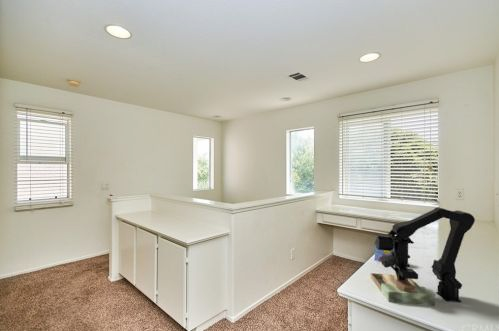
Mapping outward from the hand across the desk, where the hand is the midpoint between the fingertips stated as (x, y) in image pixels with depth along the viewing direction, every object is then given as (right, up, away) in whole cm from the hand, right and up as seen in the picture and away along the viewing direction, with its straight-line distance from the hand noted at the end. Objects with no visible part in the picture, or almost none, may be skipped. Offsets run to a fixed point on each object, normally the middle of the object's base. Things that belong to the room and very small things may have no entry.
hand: (400, 284), depth 109 cm
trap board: (0, -3, +1) cm, 4 cm away
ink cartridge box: (+13, -4, +35) cm, 37 cm away
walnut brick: (-1, -1, -5) cm, 5 cm away
